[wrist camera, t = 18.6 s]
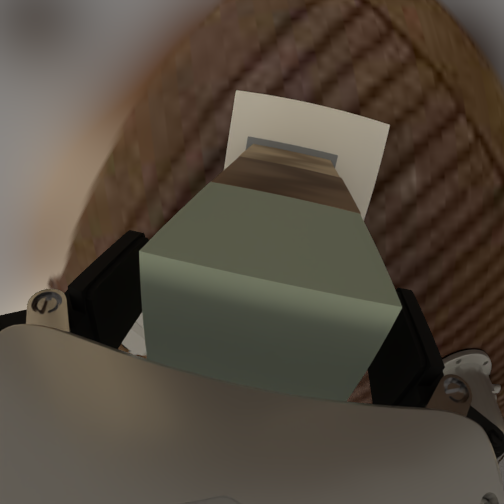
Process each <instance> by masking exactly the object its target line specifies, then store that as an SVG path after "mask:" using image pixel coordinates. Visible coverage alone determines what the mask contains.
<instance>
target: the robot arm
mask: <svg viewBox="0 0 504 504" xmlns="http://www.w3.org/2000/svg"><path fill="white" fill-rule="evenodd" d="M148 241H149V240H148V238H145V235H144V233H140V232H136V231H131V230H129V231H128V232H127V233H126V234H124V235H123V236H122V237H121V238H120V239H119V240H117V241H116V242H115V243H114V244H113V245H112V246H111V247H109V248H108V249H107V250H106V251H105V252H104V253H103V254H102V255H101V256H99V257H98V258H97V259H96V260H95V261H94V262H93V263H92V264H91V265H90V266H89V267H88V268H86V269H85V270H84V271H83V272H82V273H81V274H80V275H79V276H78V277H77V278H76V279H75V280H74V281H73V282H72V283H71V284H70V285H69V286H68V290H67V291H66V292H65V293H63V292H61V291H59V290H57V289H45V290H41V291H39V292H37V293H35V294H34V295H33V296H32V297H31V298H30V299H29V301H28V304H27V310H23V311H19V312H14V313H9V314H5V315H0V504H504V420H503V417H502V415H501V412H500V409H499V407H498V404H497V402H496V399H497V396H496V394H495V393H498V392H499V391H500V389H501V387H500V385H499V384H493V385H492V383H491V381H490V379H489V374H490V371H491V365H492V364H491V360H490V358H489V357H488V355H487V354H486V353H485V352H484V351H481V350H476V349H472V350H465V351H461V352H457V353H455V354H452V355H450V356H448V357H446V358H444V359H442V358H441V355H440V353H439V350H438V348H437V345H436V343H435V340H434V338H433V336H432V333H431V331H430V329H429V326H428V324H427V322H426V320H425V317H424V315H423V313H422V311H421V308H420V306H419V304H418V302H417V300H416V298H415V296H414V294H413V292H412V291H411V290H407V289H402V288H397V289H396V293H397V295H398V298H399V300H400V303H401V305H402V309H401V311H400V313H399V315H398V316H397V318H396V320H395V322H394V324H393V326H392V328H391V330H390V331H389V333H388V335H387V337H386V339H385V340H384V342H383V344H382V346H381V347H380V349H379V351H378V352H377V354H376V356H375V357H374V359H373V361H372V362H371V364H370V366H369V367H368V374H369V380H370V387H371V394H372V401H373V404H367V403H356V402H346V401H337V400H329V399H322V398H314V397H308V396H301V395H295V394H289V393H283V392H277V391H272V390H267V389H261V388H256V387H252V386H247V385H242V384H238V383H233V382H229V381H224V380H220V379H216V378H212V377H208V376H204V375H200V374H197V373H193V372H189V371H185V370H182V369H178V368H175V367H171V366H168V365H164V364H161V363H158V362H155V361H151V360H148V359H145V358H142V357H139V356H136V355H133V354H130V353H127V352H124V351H121V350H118V348H119V346H120V345H121V343H122V342H123V340H124V339H125V337H126V336H127V334H128V332H129V331H130V329H131V328H132V326H133V325H134V323H135V322H136V320H137V319H138V317H139V316H140V314H141V313H142V300H141V284H140V262H139V251H140V250H141V249H142V248H143V247H144V246H145V245H146V244H147V242H148Z"/></svg>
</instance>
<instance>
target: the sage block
mask: <svg viewBox="0 0 504 504" xmlns="http://www.w3.org/2000/svg"><path fill="white" fill-rule="evenodd" d="M139 262H140V284H141V300H142V314H143V325H144V336H145V345H146V354H147V359H148V360H151V361H155V362H158V363H161V364H164V365H168V366H171V367H175V368H178V369H182V370H185V371H189V372H193V373H197V374H200V375H204V376H208V377H212V378H216V379H220V380H224V381H229V382H233V383H238V384H242V385H247V386H252V387H256V388H261V389H267V390H272V391H277V392H283V393H289V394H295V395H301V396H308V397H314V398H322V399H329V400H337V401H347V400H348V398H349V397H350V395H351V394H352V392H353V391H354V389H355V388H356V386H357V385H358V383H359V382H360V380H361V378H362V377H363V375H364V374H365V372H366V371H367V369H368V367H369V366H370V364H371V362H372V361H373V359H374V357H375V356H376V354H377V352H378V351H379V349H380V347H381V346H382V344H383V342H384V340H385V339H386V337H387V335H388V333H389V331H390V330H391V328H392V326H393V324H394V322H395V320H396V318H397V316H398V315H399V313H400V311H401V309H402V305H401V303H400V300H399V298H398V295H397V293H396V290H395V288H394V286H393V283H392V281H391V279H390V276H389V274H388V272H387V270H386V267H385V265H384V263H383V261H382V258H381V256H380V254H379V252H378V250H377V248H376V245H375V243H374V241H373V239H372V237H371V235H370V233H369V231H368V229H367V227H366V225H365V223H364V221H363V219H362V217H361V215H360V214H359V213H355V212H351V211H347V210H343V209H339V208H335V207H331V206H326V205H322V204H318V203H314V202H309V201H305V200H300V199H296V198H291V197H286V196H282V195H277V194H272V193H267V192H262V191H257V190H252V189H247V188H242V187H237V186H231V185H226V184H220V183H215V182H210V183H209V184H208V185H206V186H205V187H204V188H203V189H202V190H201V191H200V192H199V193H198V194H197V195H196V196H195V197H194V198H192V199H191V200H190V201H189V202H188V203H187V204H186V205H185V206H184V207H183V208H182V209H181V210H180V211H179V212H178V213H177V214H176V215H175V216H174V217H173V218H172V219H171V220H170V221H169V222H167V223H166V224H165V225H164V226H163V227H162V228H161V229H160V230H159V231H158V232H157V233H156V234H155V235H154V236H153V237H152V238H151V239H150V240H149V241H148V242H147V244H146V245H145V246H144V247H143V248H142V249H141V250H140V251H139Z"/></svg>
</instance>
